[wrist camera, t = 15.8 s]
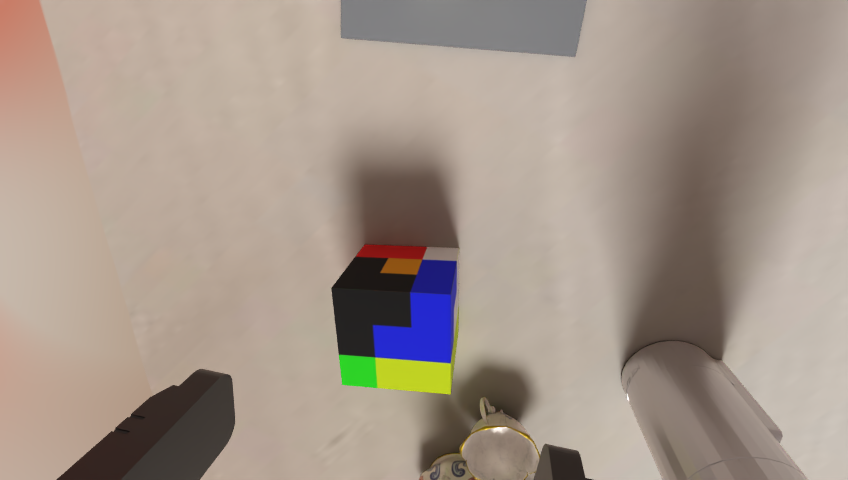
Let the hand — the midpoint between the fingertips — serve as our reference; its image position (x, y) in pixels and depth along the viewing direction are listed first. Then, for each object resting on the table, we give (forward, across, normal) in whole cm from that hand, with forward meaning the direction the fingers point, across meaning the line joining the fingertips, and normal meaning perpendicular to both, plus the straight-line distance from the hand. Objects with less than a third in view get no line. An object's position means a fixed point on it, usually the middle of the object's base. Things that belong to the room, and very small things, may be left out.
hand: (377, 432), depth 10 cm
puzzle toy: (+32, +4, +13) cm, 34 cm away
